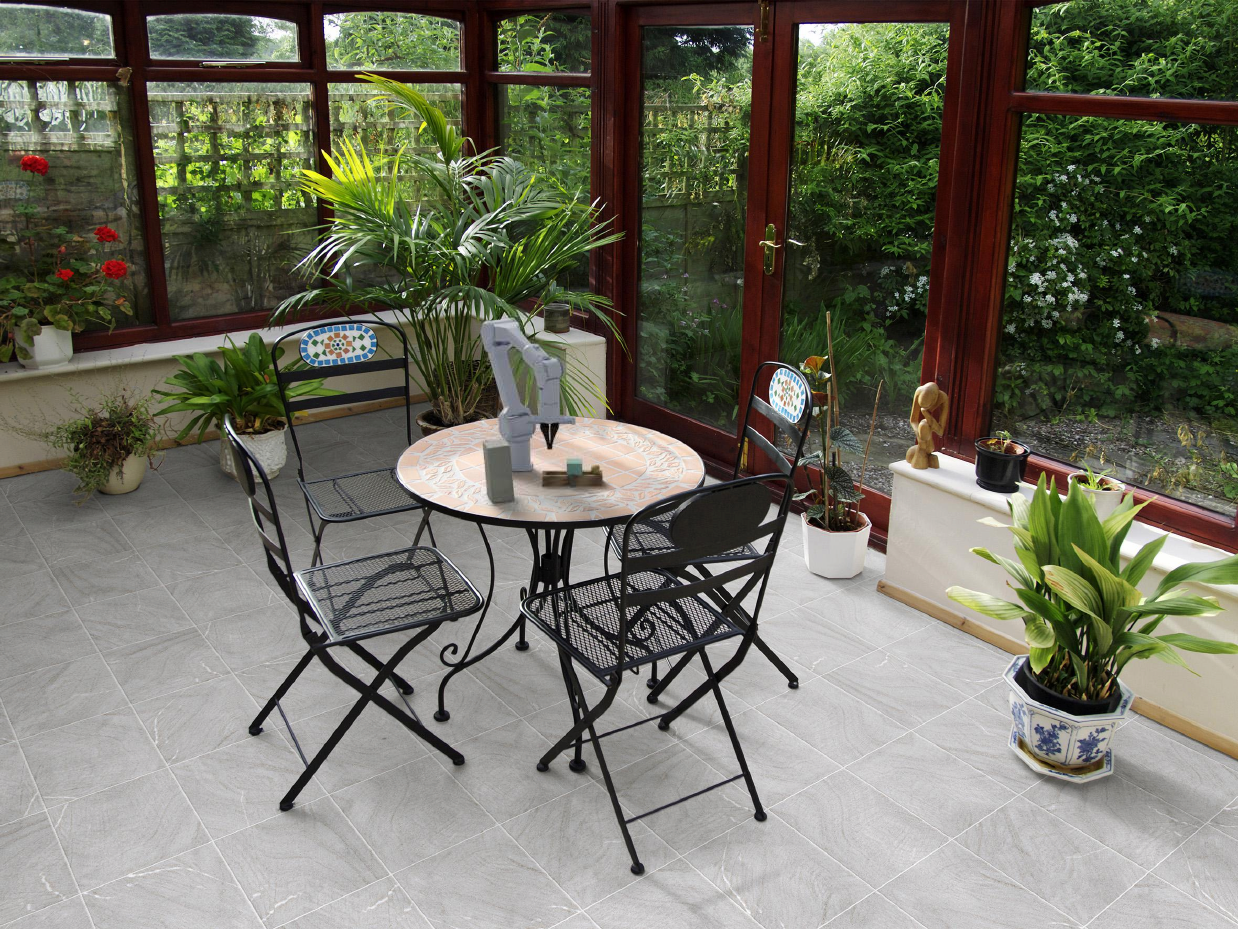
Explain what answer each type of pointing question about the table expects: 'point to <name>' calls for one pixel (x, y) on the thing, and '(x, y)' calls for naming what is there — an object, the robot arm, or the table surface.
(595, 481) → the wooden slide track
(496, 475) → the skincare box
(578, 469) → the block
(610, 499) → the table surface
